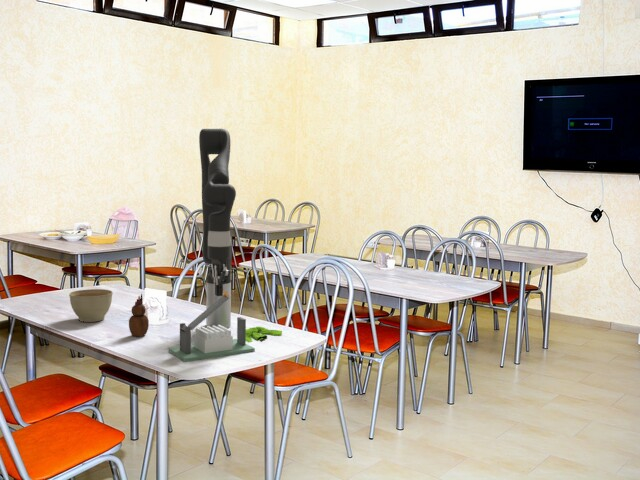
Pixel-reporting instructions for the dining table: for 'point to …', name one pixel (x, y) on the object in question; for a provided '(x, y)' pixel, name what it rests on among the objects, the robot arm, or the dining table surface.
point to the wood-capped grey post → (207, 311)
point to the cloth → (260, 333)
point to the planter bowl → (91, 304)
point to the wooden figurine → (138, 319)
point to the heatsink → (211, 342)
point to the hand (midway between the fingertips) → (218, 295)
